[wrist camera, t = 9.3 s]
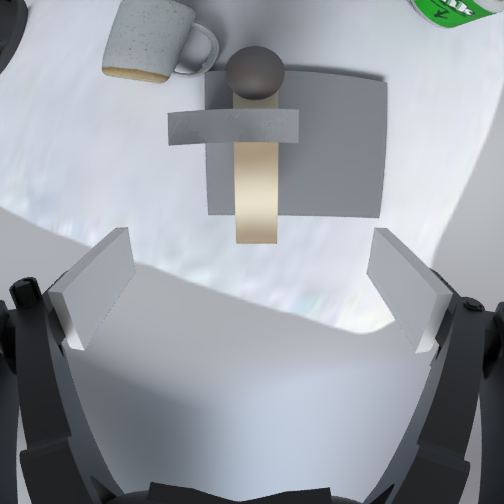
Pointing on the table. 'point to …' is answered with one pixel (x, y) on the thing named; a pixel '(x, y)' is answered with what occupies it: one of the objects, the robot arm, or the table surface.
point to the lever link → (255, 145)
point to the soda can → (456, 10)
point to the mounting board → (313, 146)
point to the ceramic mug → (152, 41)
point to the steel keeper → (233, 126)
